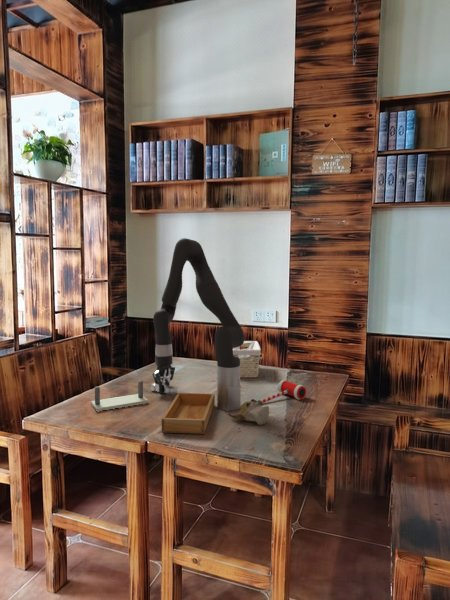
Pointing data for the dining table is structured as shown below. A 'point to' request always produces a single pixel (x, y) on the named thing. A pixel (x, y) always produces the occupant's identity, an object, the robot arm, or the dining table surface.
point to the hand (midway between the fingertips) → (164, 391)
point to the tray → (188, 413)
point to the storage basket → (248, 358)
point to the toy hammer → (288, 391)
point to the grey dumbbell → (165, 389)
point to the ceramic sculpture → (252, 412)
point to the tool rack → (119, 399)
